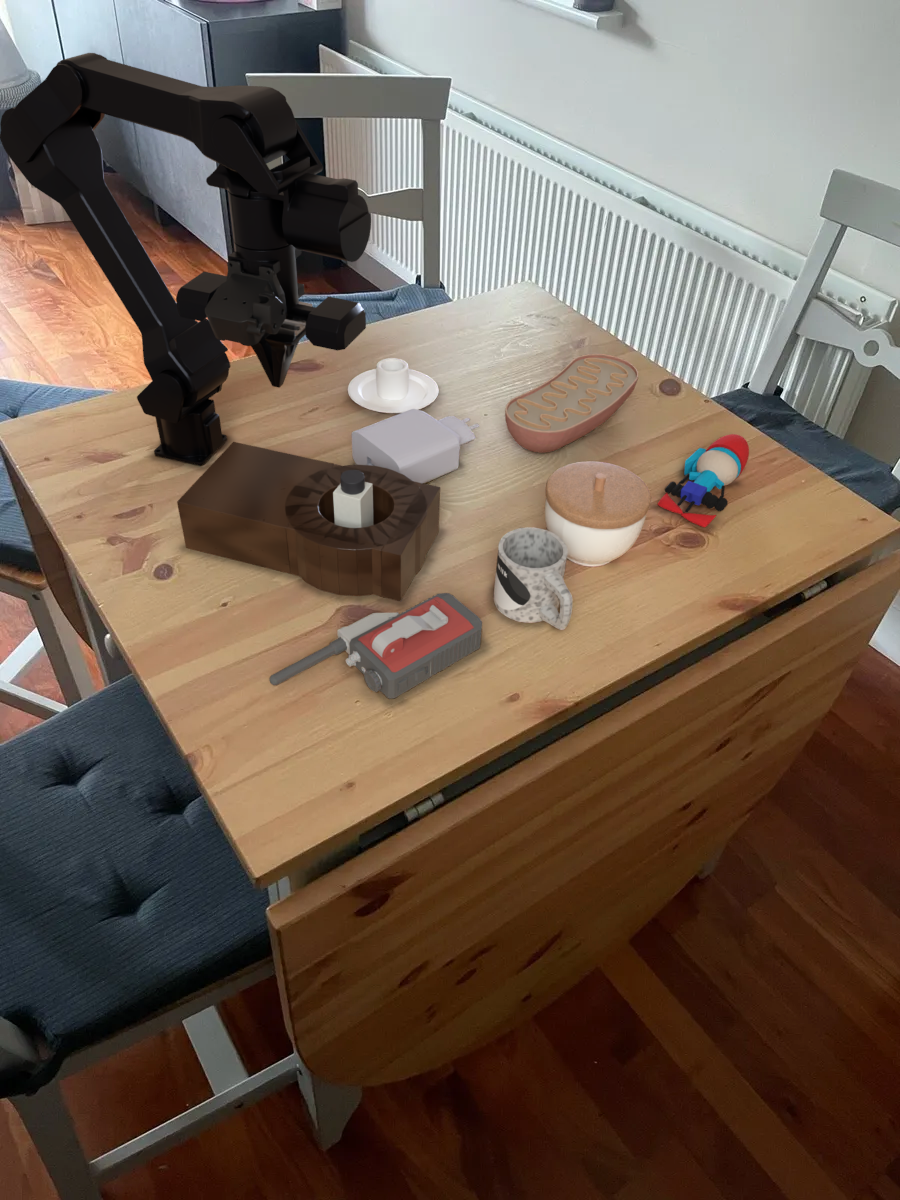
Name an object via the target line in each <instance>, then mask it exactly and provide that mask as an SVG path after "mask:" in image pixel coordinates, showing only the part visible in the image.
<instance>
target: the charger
mask: <svg viewBox="0 0 900 1200" xmlns="http://www.w3.org/2000/svg"><path fill="white" fill-rule="evenodd" d="M468 422H471V418H470V417H465V418H463V419H460V418H458V417H457V416H455V415H448V416H447V415H446V416H444V417H442V418H440V419H436V418H435V417H433V416H432V415H430V414H429V413H428V412H426V411H423V410H421V409H418V410H417V409H411V410H408V411H406V412H403V413H397V414H395V415H393V416H390V417H388V418H385V419H382V420H379V421H377V422H374V423H372V424H369V425H366V426H364V427H361V428H358V429H356V430H354V431H352V432H351V455H352V459H353V461H354V464H355V465H373V466H378V467H383V468H388V469H391V470H394V471H396V472H398V473H401V474H403V475H405V476H407V477H408V478H410V479H411V480H412V481H414V482H419V483H424V484H427V483H428V482H431V481H433V480H435V479H438V478H441V477H442V476H445V475H447V474H449V473H451V472H454V471H456V470H458V469H459V465H460V453H461V447H462V446H463V445H465V444H468V443H470V442H473V441H474V440H476V438H477V437H476V435H475V432H473V430H475V429H478V428H480V424H479V423H475V424H472V425H470V426H469V425H468V424H467V423H468Z"/></svg>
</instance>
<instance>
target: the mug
mask: <svg viewBox="0 0 900 1200" xmlns="http://www.w3.org/2000/svg"><path fill="white" fill-rule="evenodd" d="M567 554H568V550H567V546H566V544H565V543H564V541H563V540H562V539H561V538H560V537H558V536H557V535H556V534H554V533H552V532H550V531H547V529H544V528H540V527H533V526H532V527H531V526H528V527H527V526H526V527H519V528H515V529H513V530H509V531H507V532H506V533H505V534H503V536H502V537H501V538H500V540H499V542H498V546H497V556H496V567H495V577H494V587H493V604H494V606H495V608H496V609H497V611H499V613H501V614H502V615H503V616H504V617H506V618H508V619H510V620H512V621H515V622H519V623H529V624H531V623H539V622H543V621H544V622H545V623H547V624H549V625H551V626H552V627H554V628H556V629H558V630H560V631H564V630H565V629H566V628H567V627H568V626H569V623H570V621H571V618H572V614H573V602H574V601H573V595H572V593H571V591H570V590H569V588H568V586H567V584H566V583H565V580H564V579H565V578H564V577H565V572H566V566H567V561H568V559H567Z"/></svg>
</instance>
